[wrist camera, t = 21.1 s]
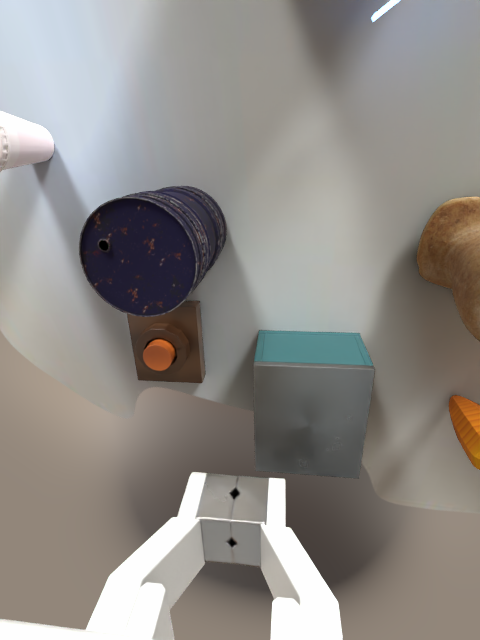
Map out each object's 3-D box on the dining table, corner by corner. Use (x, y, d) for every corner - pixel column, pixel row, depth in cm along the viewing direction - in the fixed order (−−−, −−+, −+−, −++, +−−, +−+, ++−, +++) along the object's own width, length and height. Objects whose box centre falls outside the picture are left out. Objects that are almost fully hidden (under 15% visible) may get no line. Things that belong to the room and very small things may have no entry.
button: (177, 364, 45) (172, 371, 43) (149, 363, 45) (144, 370, 44) (174, 338, 43) (169, 345, 42) (146, 338, 44) (140, 344, 42)
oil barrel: (241, 208, 40) (218, 231, 26) (209, 283, 44) (174, 336, 30) (160, 169, 39) (93, 171, 25) (135, 248, 43) (65, 287, 30)
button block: (205, 374, 49) (199, 391, 46) (143, 371, 50) (132, 387, 47) (199, 300, 45) (192, 312, 41) (132, 299, 46) (119, 311, 42)
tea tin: (348, 425, 50) (358, 468, 43) (259, 420, 51) (255, 461, 44) (359, 332, 44) (373, 365, 37) (258, 330, 46) (253, 360, 38)
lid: (357, 473, 43) (359, 478, 42) (255, 466, 45) (254, 471, 44) (373, 365, 37) (375, 369, 36) (254, 360, 38) (253, 364, 38)
